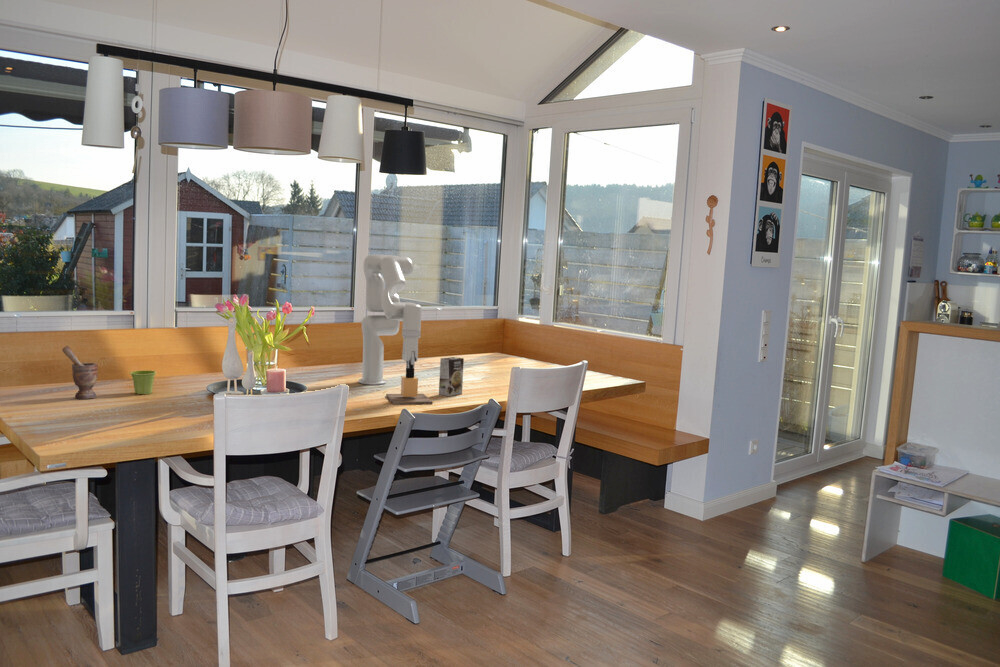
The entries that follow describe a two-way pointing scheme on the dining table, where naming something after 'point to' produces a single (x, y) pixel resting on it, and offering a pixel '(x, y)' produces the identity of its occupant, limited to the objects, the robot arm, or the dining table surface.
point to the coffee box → (451, 376)
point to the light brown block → (409, 386)
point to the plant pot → (143, 381)
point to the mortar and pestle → (82, 375)
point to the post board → (408, 399)
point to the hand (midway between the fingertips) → (409, 377)
